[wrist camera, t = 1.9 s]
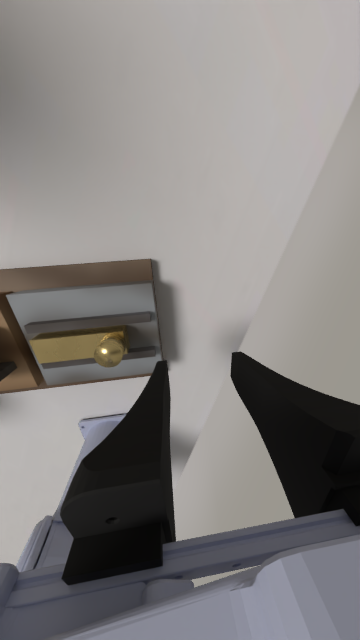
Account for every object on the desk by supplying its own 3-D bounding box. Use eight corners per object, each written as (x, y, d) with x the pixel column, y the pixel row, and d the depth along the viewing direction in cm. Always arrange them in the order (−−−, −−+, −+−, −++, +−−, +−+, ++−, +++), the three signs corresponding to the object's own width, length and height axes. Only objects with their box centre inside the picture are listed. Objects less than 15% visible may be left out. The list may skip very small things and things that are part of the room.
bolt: (131, 345, 17) (124, 366, 14) (49, 354, 17) (22, 378, 14) (127, 324, 17) (118, 341, 13) (40, 333, 16) (9, 353, 13)
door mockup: (164, 369, 23) (165, 404, 17) (-47, 394, 21) (-117, 442, 16) (150, 258, 17) (146, 261, 12) (-134, 279, 15) (-286, 292, 10)
